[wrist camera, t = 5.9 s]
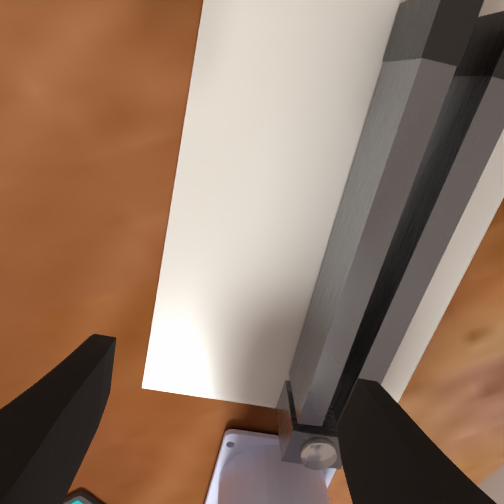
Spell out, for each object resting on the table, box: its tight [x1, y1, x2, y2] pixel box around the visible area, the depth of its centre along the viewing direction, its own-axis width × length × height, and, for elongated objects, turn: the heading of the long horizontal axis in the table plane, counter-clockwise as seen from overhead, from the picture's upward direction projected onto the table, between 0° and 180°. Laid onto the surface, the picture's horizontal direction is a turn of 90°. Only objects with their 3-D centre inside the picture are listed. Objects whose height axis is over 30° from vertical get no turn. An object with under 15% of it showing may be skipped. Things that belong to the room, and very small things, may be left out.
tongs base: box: [276, 11, 504, 470], centre depth 17 cm, size 21×3×4 cm, turn 167°
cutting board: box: [142, 0, 504, 408], centre depth 19 cm, size 24×15×1 cm, turn 167°
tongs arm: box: [289, 0, 484, 426], centre depth 17 cm, size 18×1×4 cm, turn 169°
